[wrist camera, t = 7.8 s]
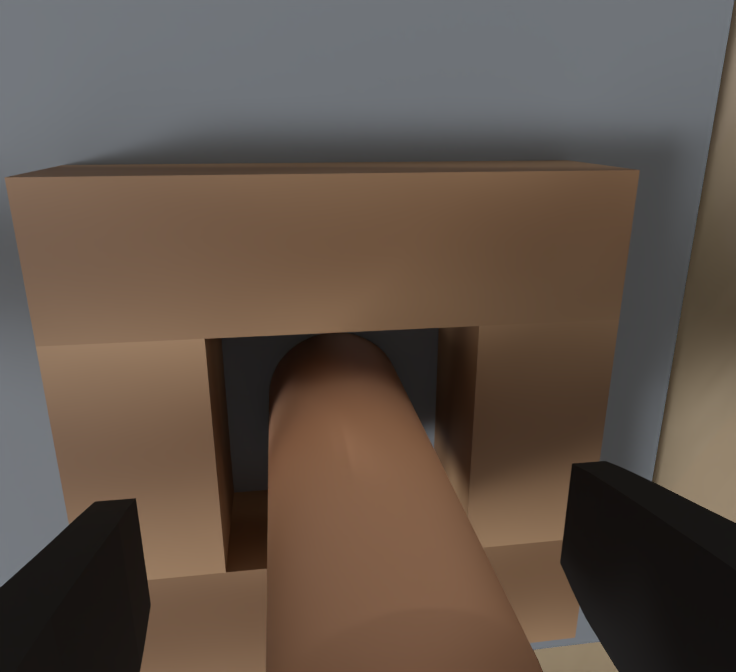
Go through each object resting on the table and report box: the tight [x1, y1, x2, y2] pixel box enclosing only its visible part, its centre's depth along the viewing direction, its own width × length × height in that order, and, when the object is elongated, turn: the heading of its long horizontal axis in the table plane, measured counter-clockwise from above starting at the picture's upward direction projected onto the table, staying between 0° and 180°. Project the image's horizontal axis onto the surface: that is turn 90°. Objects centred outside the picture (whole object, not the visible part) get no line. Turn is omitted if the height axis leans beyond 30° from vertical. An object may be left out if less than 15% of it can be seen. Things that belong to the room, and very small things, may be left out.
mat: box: [0, 0, 734, 650], centre depth 16 cm, size 18×18×1 cm
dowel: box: [266, 332, 543, 672], centre depth 11 cm, size 3×3×9 cm
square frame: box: [4, 160, 640, 672], centre depth 14 cm, size 11×11×3 cm
